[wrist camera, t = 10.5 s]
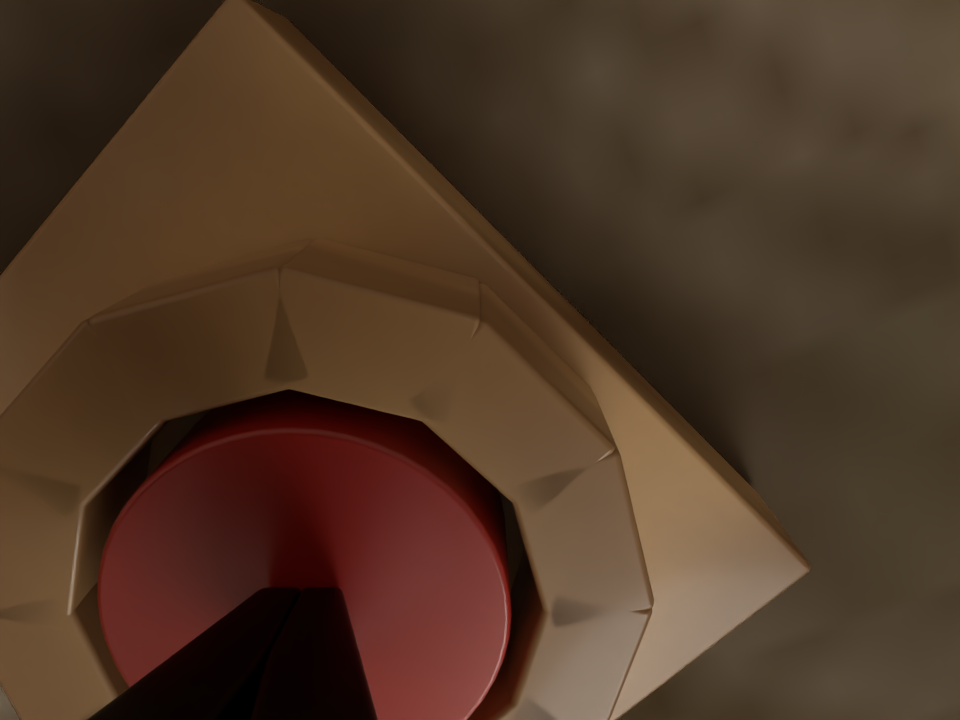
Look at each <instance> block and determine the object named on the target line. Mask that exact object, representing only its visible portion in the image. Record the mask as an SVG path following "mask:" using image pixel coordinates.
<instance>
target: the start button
mask: <svg viewBox="0 0 960 720" xmlns="http://www.w3.org/2000/svg"><path fill="white" fill-rule="evenodd" d="M269 587H295V588H298V589H300V591H301V592H302V590H303V589H305V588H308V587H338V588H340V589H341V590H342V591H343V594H344V598H345V602H346V605H347V609H348V613H349V616H350V620H351V624H352V627H353V631H354V634H355V638H356V642H357V645H358V649H359V653H360V656H361V660H362V663H363V667H364V671H365V674H366V678H367V682H368V685H369V689H370V693H371V696H372V700H373V703H374V707H375V711H376V714H377V718H378V720H467V719H468V718H469V717H470V715H471V714H472V713H473V712H474V711H475V709H476V708H477V707H478V706H479V704H480V703H481V702H482V701H483V699H484V698H485V696H486V694H487V693H488V691H489V689H490V688H491V686H492V684H493V683H494V681H495V679H496V677H497V675H498V672H499V670H500V667H501V665H502V663H503V660H504V657H505V653H506V649H507V645H508V641H509V637H510V627H511V616H512V613H511V598H510V583H509V570H508V556H507V543H506V529H505V516H504V511H503V506H502V502H501V497H500V494H499V491H498V489H497V488H496V487H494V486H493V485H492V484H491V483H490V482H489V481H488V480H487V479H485V478H484V477H483V476H482V475H481V474H480V473H479V472H478V471H477V470H475V469H474V468H473V467H472V466H471V465H470V464H469V463H468V462H467V461H465V460H464V459H463V458H462V457H461V456H460V455H459V454H458V453H457V452H455V451H454V450H453V449H452V448H451V447H450V446H449V445H448V444H447V443H445V442H444V441H443V440H442V439H441V438H440V437H439V436H438V435H437V434H435V433H434V432H433V431H432V430H431V429H430V428H429V427H428V426H427V425H425V424H424V423H423V422H422V421H419V420H415V419H411V418H407V417H403V416H398V415H394V414H390V413H386V412H382V411H378V410H374V409H370V408H365V407H361V406H357V405H353V404H349V403H345V402H341V401H337V400H332V399H328V398H324V397H320V396H316V395H312V394H308V393H304V392H299V391H295V390H291V389H287V390H283V391H279V392H276V393H272V394H268V395H264V396H260V397H256V398H253V399H249V400H245V401H241V402H237V403H233V404H230V405H226V406H222V407H218V408H214V409H211V410H210V411H209V412H208V413H207V414H206V415H205V416H204V417H203V418H201V419H200V420H199V421H198V422H197V423H196V424H195V425H194V426H193V427H192V428H191V429H190V431H189V432H188V433H187V434H186V435H185V436H184V437H183V438H182V440H181V441H180V442H179V443H178V444H177V445H176V446H175V447H174V448H173V450H172V451H171V452H170V453H169V454H168V455H167V456H166V457H165V458H164V460H163V461H162V462H161V463H160V464H159V465H158V466H157V467H156V469H155V470H154V471H153V472H152V473H151V474H150V475H149V476H148V477H147V479H146V480H145V481H144V482H143V483H142V484H141V485H140V486H139V488H138V489H137V490H136V491H135V493H134V494H133V495H132V496H131V497H130V499H129V500H128V501H127V502H126V504H125V505H124V506H123V508H122V510H121V511H120V513H119V515H118V517H117V518H116V520H115V522H114V523H113V525H112V527H111V530H110V532H109V535H108V538H107V540H106V543H105V545H104V548H103V553H102V557H101V562H100V567H99V573H98V593H97V599H98V609H99V618H100V623H101V627H102V631H103V634H104V638H105V642H106V644H107V647H108V649H109V652H110V654H111V656H112V659H113V661H114V663H115V665H116V667H117V669H118V670H119V672H120V674H121V675H122V677H123V679H124V680H125V682H126V684H127V685H128V686H129V688H130V687H131V686H132V685H134V684H135V683H136V682H138V681H139V680H140V679H142V678H143V677H144V676H145V675H147V674H148V673H149V672H151V671H152V670H153V669H155V668H156V667H157V666H159V665H160V664H161V663H163V662H164V661H165V660H167V659H168V658H169V657H171V656H172V655H173V654H175V653H176V652H177V651H179V650H180V649H181V648H183V647H184V646H185V645H187V644H188V643H189V642H191V641H192V640H193V639H195V638H196V637H197V636H199V635H200V634H201V633H203V632H204V631H205V630H207V629H208V628H209V627H211V626H212V625H213V624H215V623H216V622H217V621H218V620H220V619H221V618H222V617H224V616H225V615H226V614H228V613H229V612H230V611H232V610H233V609H234V608H236V607H237V606H238V605H240V604H241V603H242V602H244V601H245V600H246V599H248V598H249V597H250V596H252V595H253V594H254V593H256V592H257V591H259V590H260V589H262V588H269Z"/></svg>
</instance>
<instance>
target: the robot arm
mask: <svg viewBox="0 0 960 720" xmlns="http://www.w3.org/2000/svg"><path fill="white" fill-rule="evenodd" d="M87 720H378V718H377V714H376V711H375V707H374V703H373V700H372V696H371V693H370V689H369V685H368V682H367V678H366V674H365V671H364V667H363V663H362V660H361V656H360V653H359V649H358V645H357V642H356V638H355V634H354V631H353V627H352V624H351V620H350V616H349V613H348V609H347V605H346V602H345V598H344V594H343V591H342V590H341V589H340V588H338V587H308V588H305V589H303V590H302V592H301V591H300V589H298V588H295V587H269V588H262V589H260V590H259V591H257V592H256V593H254V594H253V595H252V596H250V597H249V598H248V599H246V600H245V601H244V602H242V603H241V604H240V605H238V606H237V607H236V608H234V609H233V610H232V611H230V612H229V613H228V614H226V615H225V616H224V617H222V618H221V619H220V620H218V621H217V622H216V623H215V624H213V625H212V626H211V627H209V628H208V629H207V630H205V631H204V632H203V633H201V634H200V635H199V636H197V637H196V638H195V639H193V640H192V641H191V642H189V643H188V644H187V645H185V646H184V647H183V648H181V649H180V650H179V651H177V652H176V653H175V654H173V655H172V656H171V657H169V658H168V659H167V660H165V661H164V662H163V663H161V664H160V665H159V666H157V667H156V668H155V669H153V670H152V671H151V672H149V673H148V674H147V675H145V676H144V677H143V678H142V679H140V680H139V681H138V682H136V683H135V684H134V685H132V686H131V687H130V688H128V689H127V690H126V691H124V692H123V693H122V694H120V695H119V696H118V697H116V698H115V699H114V700H112V701H111V702H110V703H108V704H107V705H106V706H104V707H103V708H102V709H100V710H99V711H98V712H96V713H95V714H94V715H92V716H91V717H90V718H88V719H87Z"/></svg>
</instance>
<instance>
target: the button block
mask: <svg viewBox="0 0 960 720" xmlns="http://www.w3.org/2000/svg"><path fill="white" fill-rule="evenodd" d="M287 389H291V390H295V391H299V392H304V393H308V394H312V395H316V396H320V397H324V398H328V399H332V400H337V401H341V402H345V403H349V404H353V405H357V406H361V407H365V408H370V409H374V410H378V411H382V412H386V413H390V414H394V415H398V416H403V417H407V418H411V419H415V420H419V421H422V422H423V423H424V424H425V425H427V426H428V427H429V428H430V429H431V430H432V431H433V432H434V433H435V434H437V435H438V436H439V437H440V438H441V439H442V440H443V441H444V442H445V443H447V444H448V445H449V446H450V447H451V448H452V449H453V450H454V451H455V452H457V453H458V454H459V455H460V456H461V457H462V458H463V459H464V460H465V461H467V462H468V463H469V464H470V465H471V466H472V467H473V468H474V469H475V470H477V471H478V472H479V473H480V474H481V475H482V476H483V477H484V478H485V479H487V480H488V481H489V482H490V483H491V484H492V485H493V486H494V487H496V488H497V489H498V491H499V494H500V497H501V502H502V506H503V511H504V516H505V529H506V543H507V556H508V570H509V583H510V598H511V613H512V616H511V627H510V637H509V641H508V645H507V649H506V653H505V657H504V660H503V663H502V665H501V667H500V670H499V672H498V675H497V677H496V679H495V681H494V683H493V684H492V686H491V688H490V689H489V691H488V693H487V694H486V696H485V698H484V699H483V701H482V702H481V703H480V704H479V706H478V707H477V708H476V709H475V711H474V712H473V713H472V714H471V715H470V717H469V718H468V719H467V720H617V719H618V718H620V717H621V716H622V715H623V714H625V713H626V712H627V711H629V710H630V709H631V708H633V707H634V706H635V705H636V704H638V703H639V702H640V701H642V700H643V699H644V698H646V697H647V696H648V695H649V694H651V693H652V692H653V691H655V690H656V689H657V688H659V687H660V686H661V685H662V684H664V683H665V682H666V681H668V680H669V679H670V678H672V677H673V676H674V675H675V674H677V673H678V672H679V671H681V670H682V669H683V668H685V667H686V666H687V665H688V664H690V663H691V662H692V661H694V660H695V659H696V658H698V657H699V656H700V655H701V654H703V653H704V652H705V651H707V650H708V649H709V648H711V647H712V646H713V645H714V644H716V643H717V642H718V641H720V640H721V639H722V638H724V637H725V636H726V635H727V634H729V633H730V632H731V631H733V630H734V629H735V628H736V627H738V626H739V625H740V624H742V623H743V622H744V621H746V620H747V619H748V618H749V617H751V616H752V615H753V614H755V613H756V612H757V611H759V610H760V609H761V608H762V607H764V606H765V605H766V604H768V603H769V602H770V601H772V600H773V599H774V598H775V597H777V596H778V595H779V594H781V593H782V592H783V591H785V590H786V589H787V588H788V587H790V586H791V585H792V584H794V583H795V582H796V581H798V580H799V579H800V578H801V577H803V576H804V575H805V574H807V573H808V572H809V571H810V569H811V567H810V563H809V562H808V560H807V559H806V558H805V556H804V555H803V554H802V552H801V551H800V550H799V548H798V547H797V546H796V544H795V543H794V542H793V540H792V539H791V538H790V536H789V535H788V534H787V532H786V531H785V530H784V528H783V527H782V525H781V524H780V523H779V521H778V520H777V519H776V517H775V516H774V515H773V513H772V512H771V511H770V509H769V508H768V507H767V505H766V504H765V503H764V501H763V500H762V499H761V497H760V496H759V495H758V493H757V492H756V491H755V490H754V489H753V488H752V487H751V486H750V485H749V484H748V483H747V482H746V481H745V480H744V479H743V478H742V477H741V476H740V475H739V474H738V473H737V472H736V471H735V470H734V469H733V468H732V467H731V465H730V464H729V463H728V462H727V461H726V460H725V459H724V458H723V457H722V456H721V455H720V454H719V453H718V452H717V451H716V450H715V449H714V448H713V447H712V446H711V445H710V444H709V443H708V442H707V441H706V440H705V439H704V438H703V437H702V436H701V435H700V434H699V433H698V432H697V431H696V430H695V429H694V428H693V427H692V426H691V425H690V424H689V423H688V422H687V421H686V420H685V419H684V418H683V417H682V416H681V415H680V414H679V413H678V412H677V411H676V410H675V409H674V408H673V407H672V406H671V405H670V404H669V403H668V402H667V401H666V400H665V399H664V398H663V397H662V396H661V395H660V394H659V393H658V392H657V391H656V390H655V389H654V388H653V387H652V386H651V385H650V384H649V383H648V382H647V381H646V380H645V379H644V378H643V377H642V376H641V375H640V374H639V373H638V372H637V371H636V370H635V369H634V368H633V367H632V366H631V365H630V364H629V363H628V362H627V361H626V360H625V359H624V358H623V357H622V356H621V355H620V354H619V353H618V352H617V351H616V350H615V349H614V348H613V347H612V346H611V345H610V344H609V343H608V342H607V341H606V340H605V339H604V338H603V337H602V336H601V335H600V334H599V333H598V332H597V331H596V330H595V329H594V328H593V327H592V326H591V325H590V324H589V322H588V321H587V320H586V319H585V318H584V317H583V316H582V315H581V314H580V313H579V312H578V311H577V310H576V309H575V308H574V307H573V306H572V305H571V304H570V303H569V302H568V301H567V300H566V299H565V298H564V297H563V296H562V295H561V294H560V293H559V292H558V291H557V290H556V289H555V288H554V287H553V286H552V285H551V284H550V283H549V282H548V281H547V280H546V279H545V278H544V277H543V276H542V275H541V274H540V273H539V272H538V271H537V270H536V269H535V268H534V267H533V266H532V265H531V264H530V263H529V262H528V261H527V260H526V259H525V258H524V257H523V256H522V255H521V254H520V253H519V252H518V251H517V250H516V249H515V248H514V247H513V246H512V245H511V244H510V243H509V242H508V241H507V240H506V239H505V238H504V237H503V236H502V235H501V234H500V233H499V232H498V231H497V230H496V229H495V228H494V227H493V226H492V225H491V224H490V223H489V222H488V221H487V220H486V219H485V218H484V217H483V216H482V215H481V214H480V213H479V212H478V211H477V210H476V209H475V208H474V207H473V206H472V205H471V204H470V203H469V202H468V201H467V200H466V199H465V198H464V197H463V196H462V195H461V194H460V193H459V192H458V191H457V190H456V189H455V188H454V187H453V186H452V185H451V184H450V183H449V182H448V180H447V179H446V178H445V177H444V176H443V175H442V174H441V173H440V172H439V171H438V170H437V169H436V168H435V167H434V166H433V165H432V164H431V163H430V162H429V161H428V160H427V159H426V158H425V157H424V156H423V155H422V154H421V153H420V152H419V151H418V150H417V149H416V148H415V147H414V146H413V145H412V144H411V143H410V142H409V141H408V140H407V139H406V138H405V137H404V136H403V135H402V134H401V133H400V132H399V131H398V130H397V129H396V128H395V127H394V126H393V125H392V124H391V123H390V122H389V121H388V120H387V119H386V118H385V117H384V116H383V115H382V114H381V113H380V112H379V111H378V110H377V109H376V108H375V107H374V106H373V105H372V104H371V103H370V102H369V101H368V100H367V99H366V98H365V97H364V96H363V95H362V94H361V93H360V92H359V91H358V90H357V89H356V88H355V87H354V86H353V85H352V84H351V83H350V82H349V81H348V80H347V79H346V78H345V77H344V76H343V75H342V74H341V73H340V72H339V71H338V70H337V69H336V68H335V67H334V66H333V65H332V64H331V63H330V62H329V61H328V60H327V59H326V58H325V57H324V56H323V55H322V54H321V53H320V52H319V51H318V50H317V49H316V48H315V47H314V46H313V45H312V44H311V43H310V42H309V41H308V40H307V39H306V37H305V36H304V35H303V34H302V33H301V32H300V31H299V30H298V29H297V28H296V27H295V26H294V25H293V24H292V23H291V22H290V21H289V20H288V19H287V18H285V17H283V16H281V15H279V14H277V13H275V12H273V11H271V10H269V9H268V8H266V7H264V6H262V5H260V4H258V3H256V2H254V1H252V0H225V1H224V2H223V3H222V4H221V6H220V7H219V8H218V9H217V10H216V12H215V13H214V14H213V15H212V17H211V18H210V19H209V20H208V22H207V23H206V24H205V25H204V26H203V28H202V29H201V30H200V31H199V33H198V34H197V35H196V36H195V37H194V39H193V40H192V41H191V42H190V44H189V45H188V46H187V47H186V48H185V50H184V51H183V52H182V53H181V55H180V56H179V57H178V58H177V59H176V61H175V62H174V63H173V64H172V66H171V67H170V68H169V69H168V71H167V72H166V73H165V74H164V75H163V77H162V78H161V79H160V80H159V82H158V83H157V84H156V85H155V86H154V88H153V89H152V90H151V91H150V93H149V94H148V95H147V96H146V97H145V99H144V100H143V101H142V102H141V104H140V105H139V106H138V107H137V108H136V110H135V111H134V112H133V113H132V115H131V116H130V117H129V118H128V120H127V121H126V122H125V123H124V124H123V126H122V127H121V128H120V129H119V131H118V132H117V133H116V134H115V135H114V137H113V138H112V139H111V140H110V142H109V143H108V144H107V145H106V146H105V148H104V149H103V150H102V151H101V153H100V154H99V155H98V156H97V157H96V159H95V160H94V161H93V162H92V164H91V165H90V166H89V167H88V169H87V170H86V171H85V172H84V173H83V175H82V176H81V177H80V178H79V180H78V181H77V182H76V183H75V184H74V186H73V187H72V188H71V189H70V191H69V192H68V193H67V194H66V195H65V197H64V198H63V199H62V200H61V202H60V203H59V204H58V205H57V206H56V208H55V209H54V210H53V211H52V213H51V214H50V215H49V216H48V218H47V219H46V220H45V221H44V222H43V224H42V225H41V226H40V227H39V229H38V230H37V231H36V232H35V233H34V235H33V236H32V237H31V238H30V240H29V241H28V242H27V243H26V244H25V246H24V247H23V248H22V249H21V251H20V252H19V253H18V254H17V255H16V257H15V258H14V259H13V260H12V262H11V263H10V264H9V265H8V267H7V268H6V269H5V270H4V271H3V273H2V274H1V275H0V685H1V687H2V688H3V690H4V692H5V694H6V695H7V697H8V699H9V701H10V702H11V704H12V706H13V708H14V709H15V711H16V713H17V715H18V716H19V718H20V720H87V719H88V718H90V717H91V716H92V715H94V714H95V713H96V712H98V711H99V710H100V709H102V708H103V707H104V706H106V705H107V704H108V703H110V702H111V701H112V700H114V699H115V698H116V697H118V696H119V695H120V694H122V693H123V692H124V691H126V690H127V689H128V688H129V686H128V685H127V684H126V682H125V680H124V679H123V677H122V675H121V674H120V672H119V670H118V669H117V667H116V665H115V663H114V661H113V659H112V656H111V654H110V652H109V649H108V647H107V644H106V642H105V638H104V634H103V631H102V627H101V623H100V618H99V609H98V599H97V593H98V573H99V567H100V562H101V557H102V553H103V548H104V545H105V543H106V540H107V538H108V535H109V532H110V530H111V527H112V525H113V523H114V522H115V520H116V518H117V517H118V515H119V513H120V511H121V510H122V508H123V506H124V505H125V504H126V502H127V501H128V500H129V499H130V497H131V496H132V495H133V494H134V493H135V491H136V490H137V489H138V488H139V486H140V485H141V484H142V483H143V482H144V481H145V480H146V479H147V477H148V476H149V475H150V474H151V473H152V472H153V471H154V470H155V469H156V467H157V466H158V465H159V464H160V463H161V462H162V461H163V460H164V458H165V457H166V456H167V455H168V454H169V453H170V452H171V451H172V450H173V448H174V447H175V446H176V445H177V444H178V443H179V442H180V441H181V440H182V438H183V437H184V436H185V435H186V434H187V433H188V432H189V431H190V429H191V428H192V427H193V426H194V425H195V424H196V423H197V422H198V421H199V420H200V419H201V418H203V417H204V416H205V415H206V414H207V413H208V412H209V411H210V410H211V409H214V408H218V407H222V406H226V405H230V404H233V403H237V402H241V401H245V400H249V399H253V398H256V397H260V396H264V395H268V394H272V393H276V392H279V391H283V390H287Z"/></svg>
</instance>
